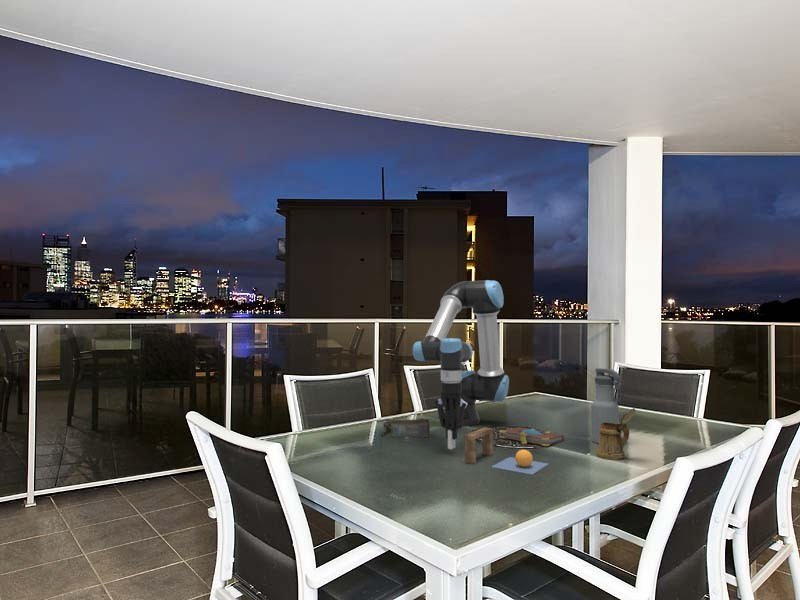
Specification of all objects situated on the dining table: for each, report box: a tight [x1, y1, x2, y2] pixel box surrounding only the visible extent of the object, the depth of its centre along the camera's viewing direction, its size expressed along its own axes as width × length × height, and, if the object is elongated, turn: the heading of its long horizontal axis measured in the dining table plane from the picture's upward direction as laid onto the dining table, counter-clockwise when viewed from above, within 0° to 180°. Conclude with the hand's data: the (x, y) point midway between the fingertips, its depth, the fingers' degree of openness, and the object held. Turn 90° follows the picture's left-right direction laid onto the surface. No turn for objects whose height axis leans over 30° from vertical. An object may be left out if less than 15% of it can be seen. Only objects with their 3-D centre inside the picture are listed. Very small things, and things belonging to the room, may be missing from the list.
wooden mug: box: [596, 407, 636, 461], centre depth 184 cm, size 9×14×18 cm, turn 40°
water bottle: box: [590, 367, 621, 444], centre depth 206 cm, size 10×10×28 cm
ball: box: [514, 449, 534, 467], centre depth 174 cm, size 6×6×6 cm
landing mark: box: [490, 456, 549, 476], centre depth 175 cm, size 14×14×1 cm
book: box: [498, 427, 565, 447], centre depth 211 cm, size 16×25×5 cm, turn 47°
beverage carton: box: [382, 418, 431, 438], centre depth 219 cm, size 8×19×6 cm, turn 87°
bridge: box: [464, 426, 494, 465], centre depth 184 cm, size 3×14×9 cm, turn 144°
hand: (451, 448), depth 190 cm, fingers closed
